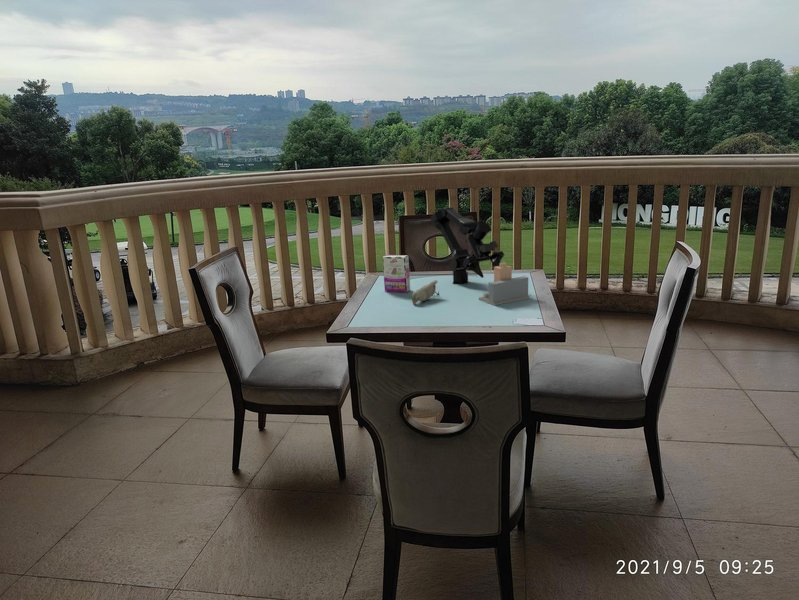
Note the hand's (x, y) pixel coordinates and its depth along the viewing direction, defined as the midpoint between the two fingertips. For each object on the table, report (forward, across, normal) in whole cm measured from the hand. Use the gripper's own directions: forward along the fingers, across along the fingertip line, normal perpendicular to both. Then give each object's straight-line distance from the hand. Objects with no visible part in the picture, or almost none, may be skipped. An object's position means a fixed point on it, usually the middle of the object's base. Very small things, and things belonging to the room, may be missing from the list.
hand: (491, 275), depth 235 cm
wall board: (+12, 0, 0) cm, 12 cm away
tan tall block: (+11, 0, -1) cm, 11 cm away
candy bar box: (-14, -31, +28) cm, 44 cm away
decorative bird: (0, -28, +12) cm, 31 cm away
